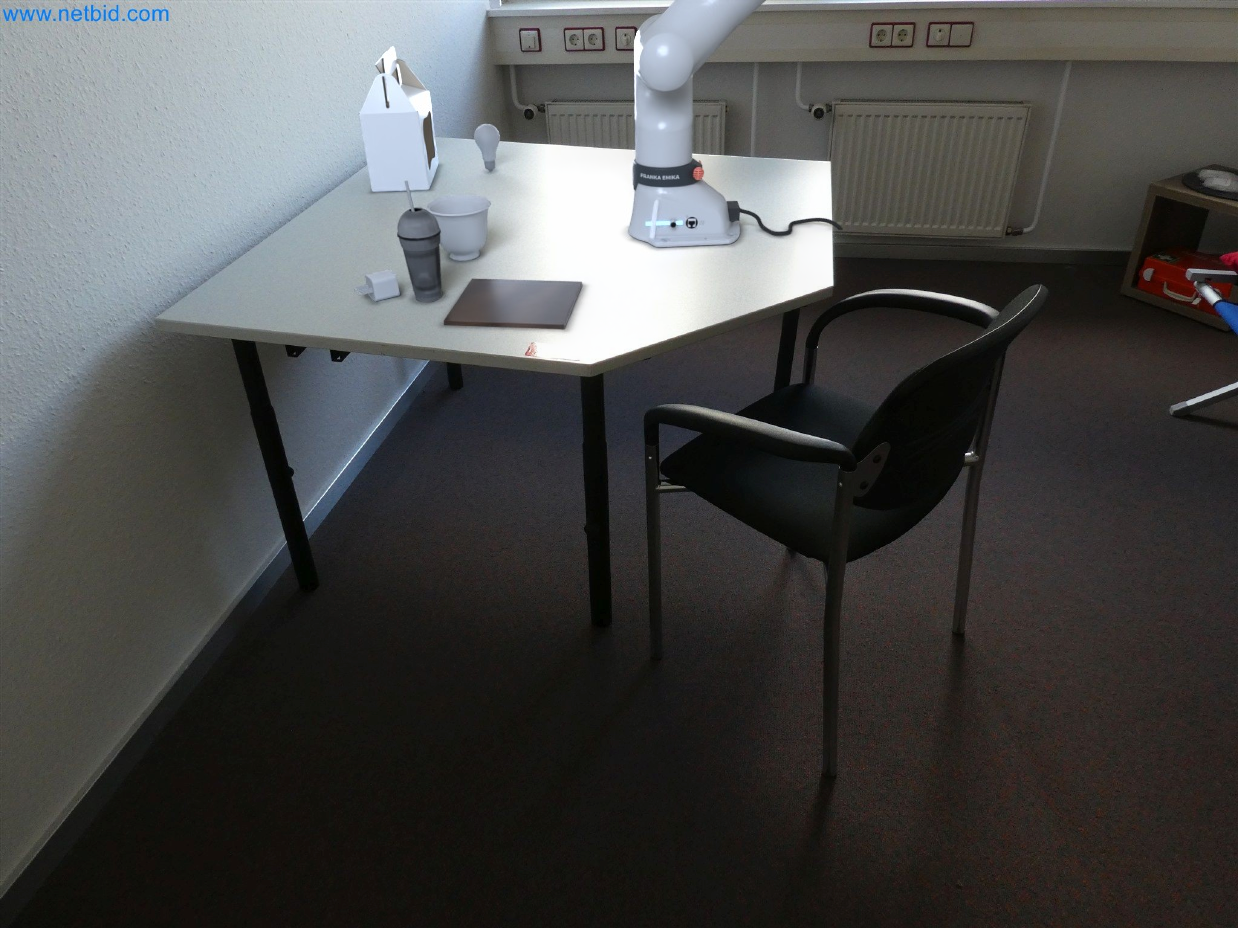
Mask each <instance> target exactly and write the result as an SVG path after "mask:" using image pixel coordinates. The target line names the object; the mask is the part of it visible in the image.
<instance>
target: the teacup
mask: <svg viewBox="0 0 1238 928" xmlns="http://www.w3.org/2000/svg"><path fill="white" fill-rule="evenodd" d="M491 205H492V202H491V200H490V199H489V198H486V197H485V196H482V195H478V194H453V195H452V194H451V195H445V196H442V197H438V198H435V199H433V200H431V201H430V202H428V203H427V205H426V206H425V209H426V210H428V211H429V212H430V213H432V214H433V215H434V217H435V218H436V220H437V222H438V224H439V228H440V230H441V233H440V244H439V245H440V247H441V248H442V249H443V250H444V251H446V252H447V253H449V258H450V259H452V260H453V261H459V262H460V261H461V262H464V261H465V262H466V261H471V260H476V259H477V258H479V256H481V255H480V251H479V250H480V249H482V248H483V247H484V246H485V244H486V242H487V239H488V216H489V215H488V214H489V208H490V207H491Z"/></svg>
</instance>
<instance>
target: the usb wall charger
mask: <svg viewBox="0 0 1238 928" xmlns="http://www.w3.org/2000/svg"><path fill="white" fill-rule="evenodd" d="M364 279H365V284H362V285H359V286H356V287H353V292H357V295H358V296H364V295H368V297H369V298H370V299H372V300H373V301H374V302H375V303H376V302H380V301H384V300H387V299H392V298H396V297H399V296H400V288H399V283H398V282H399V281H398V277H397V274H395V272H393V271H392V270H391V269H390V268H389V269H384V270H380V271H375V272H372V273H371V272H370V273H366V274H365V275H364Z"/></svg>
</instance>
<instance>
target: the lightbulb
mask: <svg viewBox="0 0 1238 928" xmlns="http://www.w3.org/2000/svg"><path fill="white" fill-rule="evenodd" d="M500 142H501V135H500V132H499V130H498V128H497V127H496V126H494V125H493V124H490V123H483V124H480V125H479V126H478V127H477V128H476V130H475V131H474V143H475V144H476V146H477V147H478V149H479V150H480V153H481V156H482V160H483V164H484V169H486V170H487V171H489V172H491V171H493V170H495V169H496V160H497V155H496V154H497V149H498V147H499V145H500Z"/></svg>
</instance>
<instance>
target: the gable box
mask: <svg viewBox="0 0 1238 928" xmlns="http://www.w3.org/2000/svg"><path fill="white" fill-rule="evenodd" d="M395 49H396V48H395V47H394V46H391V47H390V48H389V49H388V50H387V51H385V53H383V55H382V56H381V57H380V58H379V59H378V61H377V62H376V63H375V64H374V66H375V68H376V69H377V71H378V72H379V74H378V75H376V76H375V77H374V80H373V82H372V84H371V86H370V89H369V91H368V93H367V95H366V97H365V100H364V101H363V104H362V107H361V109H360V111H359V112H358V120H359V125H360V131H361V135H362V143H363V149H364V155H365V160H366V166H367V171H368V177H369V183H370V188H371V192H372V193H385V192H386V193H387V192H388V193H389V192H407V190H406V186H405V182H404V181H408V185H409V189H410V192H413V191H430V188H431V185H432V183H433V180H434V179H435V175H436V172H437V170H438V167H439V163H440V162H439V155H438V148H437V140H436V132H435V125H434V116H433V108H432V101H431V94H430V90H428V89H427V87H426V86H425V85H424V84H423V82H422V81H421V79H419V78H418V76H417V75H416V74H415V72H414V71H413V70H412V69H411V67H410V66H409V65H408V64H407V63H406V61H404V60H403V59H401V58H397V55H396V50H395Z"/></svg>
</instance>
